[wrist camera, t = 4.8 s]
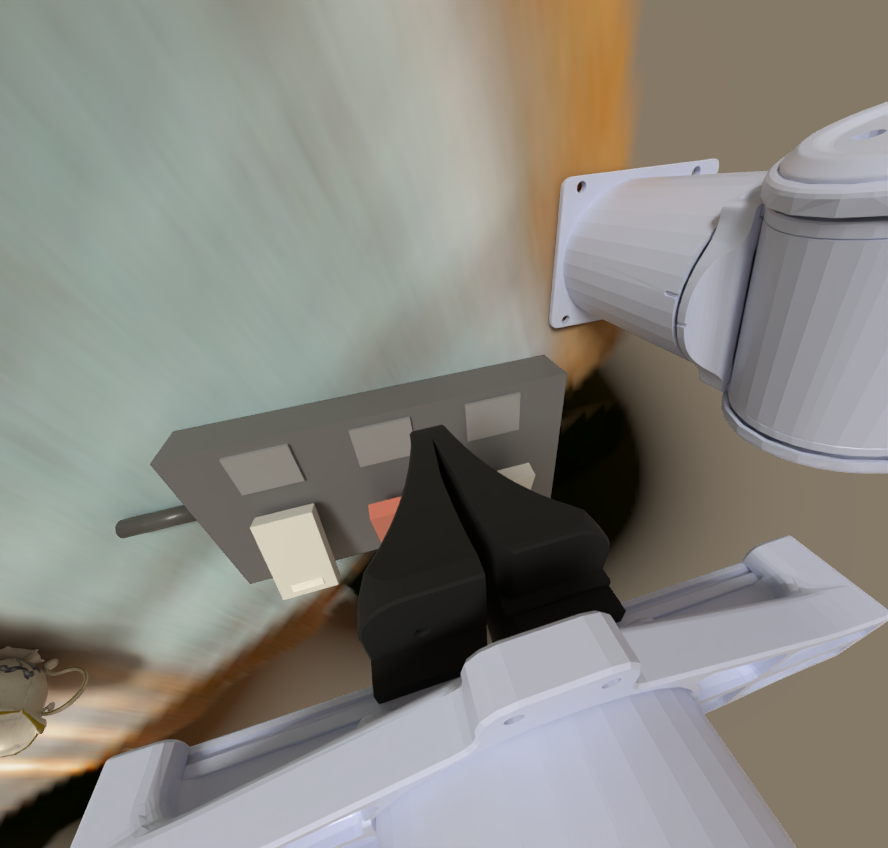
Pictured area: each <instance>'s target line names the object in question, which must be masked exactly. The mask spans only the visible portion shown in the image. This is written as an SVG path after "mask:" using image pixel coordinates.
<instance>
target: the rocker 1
mask: <svg viewBox="0 0 888 848" xmlns="http://www.w3.org/2000/svg"><path fill="white" fill-rule="evenodd" d="M250 530H251V532H252V534H253V536H254V538H255V540H256V542H257V545H258V547H259V549H260V551H261V553H262V555H263V557H264V560H265V562H266V564H267V566H268V568H269V570H270V572H271V574H272V577H273V579H274V581H275V583H276V585H277V587H278V589H279V592H280V594H281V596H282V598H283V600H286V599H289V598H293V597H296V596H300V595H303V594H307V593H310V592H314V591H317V590H321V589H324V588H328V587H331V586H335V585H338V584H339V575H340V573H339V570H338V567H337V565H336V562H335V559H334V556H333V554H332V551H331V548H330V545H329V543H328V540H327V537H326V534H325V532H324V529H323V526H322V523H321V521H320V518H319V515H318V512H317V510H316V507H315V504H314V503H312V504H308V505H304V506H300V507H296V508H292V509H288V510H284V511H280V512H276V513H272V514H268V515H264V516H260V517H256V518H254V520H253V522H252V524H251V526H250Z"/></svg>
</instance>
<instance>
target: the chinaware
mask: <svg viewBox="0 0 888 848" xmlns="http://www.w3.org/2000/svg"><path fill="white" fill-rule="evenodd" d="M37 651H39V650H38V649H36V650H29V649H22V648H11V647H9V646H6V647H5V648H4V649H1V650H0V757H5V756H11V755H16V754H18V753H19V752H21V751H22V750H24V749H26V748H27V747H28V746H30V744H31V743H32V742H33V741H34V739H35V738H36V737H37V735H38V734H42V733H43V731H44V729H45V727H46V724H47V722H46V720H45V719H43V718H42V716H47V715H52V714H56V713H58V712H60V711H62V710H64V709H66V708H67V707H69V706H70V705H71V704H73V703H74V702H75V701H76V700H77V699H78V698H79V697H80V695H81V694H82V693H83V691H84V690H85V688H86V686H87V683H88V679H89V676H88V672H87V671H86V670H85V669H84V668H82V667H79V666H75V667H70V668H67V669H64V670H62V671H58V672H52V671H50V670H51V669H53V668H55V667H56V666H57V665H58V659H52V660H49V661H48V662H46V663H45V664H44V665H43V668H42V669H43V670H44V671H42V670H41V669H40V668H39V667H38V666H37V665H36V664H34V663H40V662H44V661H45V660H43V659H41V657H40V655H39V654H38V653H37ZM70 671H79V672H81V673H82V674H83V677H84V681H83V684H82V686H81V688H80V689H79V691H78V692H77V693H76V694H75V695H74V696H73V697H72V698H71V699H70V700H69V701H68V702H67V703H65V704H64V705H62V706H61V707H59V708H57V709H55V710H53V709H54V706H55V703H54V702H53V703H50V704H49V705H48V706H47V707H45V708H44V706H45V703H46V699H47V695H48V682H47V678H46V675H50V676H56V675H60V674H63V673H66V672H70ZM46 709H48V712H44V711H45V710H46Z"/></svg>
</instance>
